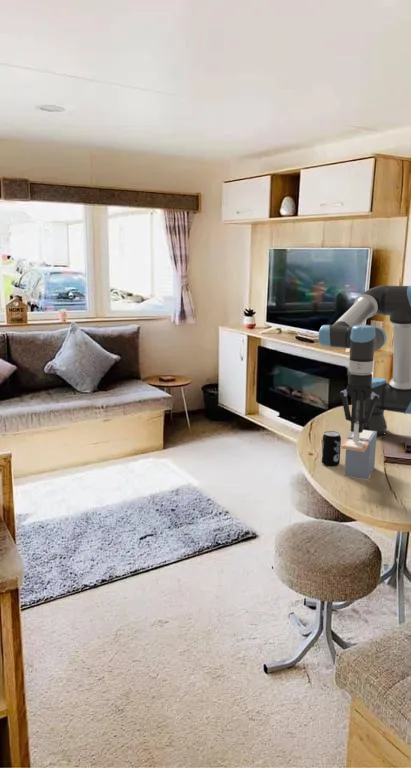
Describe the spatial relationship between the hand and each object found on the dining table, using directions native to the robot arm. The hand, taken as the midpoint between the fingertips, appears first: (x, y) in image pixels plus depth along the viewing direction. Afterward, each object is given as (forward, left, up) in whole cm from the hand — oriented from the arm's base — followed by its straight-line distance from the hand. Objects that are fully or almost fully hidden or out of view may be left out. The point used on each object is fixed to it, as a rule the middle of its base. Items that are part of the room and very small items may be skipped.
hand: (356, 441), depth 188 cm
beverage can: (-1, -17, -15) cm, 22 cm away
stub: (+1, +1, -2) cm, 2 cm away
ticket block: (-7, -7, -15) cm, 18 cm away
